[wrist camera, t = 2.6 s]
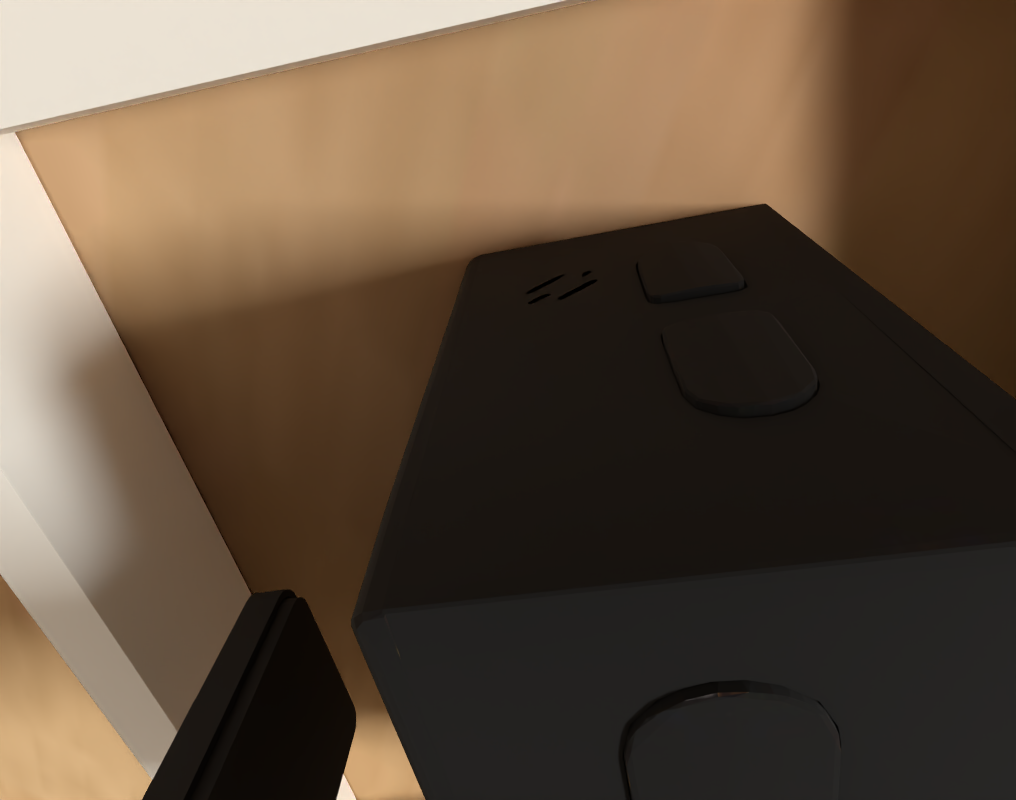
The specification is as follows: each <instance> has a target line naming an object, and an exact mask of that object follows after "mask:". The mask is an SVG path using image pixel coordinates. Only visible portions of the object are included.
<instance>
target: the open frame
mask: <svg viewBox="0 0 1016 800" xmlns="http://www.w3.org/2000/svg"><path fill="white" fill-rule="evenodd" d="M591 1H596V0H0V574H1V576H2V577H3V579H4V580H5V581H6V583H7V584H8V585H9V587H10V588H11V589H12V591H13V592H14V593H15V595H16V596H17V597H18V599H19V600H20V602H21V603H22V604H23V606H24V607H25V608H26V610H27V611H28V612H29V614H30V615H31V616H32V618H33V619H34V620H35V622H36V623H37V625H38V626H39V627H40V629H41V630H42V631H43V633H44V634H45V635H46V637H47V638H48V639H49V641H50V642H51V643H52V645H53V646H54V648H55V649H56V650H57V652H58V653H59V654H60V656H61V657H62V658H63V660H64V661H65V662H66V664H67V665H68V667H69V668H70V669H71V671H72V672H73V673H74V675H75V676H76V677H77V679H78V680H79V681H80V683H81V684H82V685H83V687H84V688H85V690H86V691H87V692H88V694H89V695H90V696H91V698H92V699H93V700H94V702H95V703H96V704H97V706H98V707H99V708H100V710H101V711H102V713H103V714H104V715H105V717H106V718H107V719H108V721H109V722H110V723H111V725H112V726H113V727H114V729H115V730H116V731H117V733H118V734H119V736H120V737H121V738H122V740H123V741H124V742H125V744H126V745H127V746H128V748H129V749H130V750H131V752H132V753H133V754H134V756H135V757H136V759H137V760H138V761H139V763H140V764H141V765H142V767H143V768H144V769H145V771H146V772H147V773H148V775H149V776H150V777H151V779H152V780H153V778H154V776H155V774H156V772H157V770H158V768H159V766H160V764H161V763H162V761H163V759H164V757H165V755H166V753H167V751H168V749H169V747H170V745H171V744H172V742H173V740H174V738H175V736H176V734H177V732H178V730H179V728H180V726H181V725H182V723H183V721H184V719H185V717H186V715H187V713H188V711H189V709H190V707H191V705H192V704H193V702H194V700H195V699H196V697H197V695H198V693H199V691H200V689H201V687H202V686H203V684H204V682H205V680H206V678H207V676H208V674H209V672H210V670H211V668H212V666H213V665H214V663H215V661H216V659H217V657H218V655H219V653H220V651H221V649H222V647H223V646H224V644H225V642H226V640H227V638H228V636H229V634H230V632H231V630H232V628H233V626H234V625H235V623H236V621H237V619H238V617H239V615H240V613H241V611H242V609H243V607H244V605H245V604H246V602H247V600H248V599H249V597H250V596H251V593H250V591H249V589H248V587H247V585H246V583H245V581H244V579H243V577H242V575H241V573H240V571H239V569H238V567H237V565H236V563H235V561H234V559H233V557H232V555H231V554H230V552H229V550H228V548H227V546H226V544H225V542H224V540H223V538H222V536H221V534H220V532H219V530H218V528H217V526H216V524H215V522H214V520H213V518H212V516H211V514H210V513H209V511H208V509H207V507H206V505H205V503H204V501H203V499H202V497H201V495H200V493H199V491H198V489H197V487H196V485H195V483H194V481H193V479H192V477H191V475H190V473H189V471H188V470H187V468H186V466H185V464H184V462H183V460H182V458H181V456H180V454H179V452H178V450H177V448H176V446H175V444H174V442H173V440H172V438H171V436H170V434H169V432H168V430H167V429H166V427H165V425H164V423H163V421H162V419H161V417H160V415H159V413H158V411H157V409H156V407H155V405H154V403H153V401H152V399H151V397H150V395H149V393H148V391H147V389H146V388H145V386H144V384H143V382H142V380H141V378H140V376H139V374H138V372H137V370H136V368H135V366H134V364H133V362H132V360H131V358H130V356H129V354H128V352H127V350H126V348H125V346H124V345H123V343H122V341H121V339H120V337H119V335H118V333H117V331H116V329H115V327H114V325H113V323H112V321H111V319H110V317H109V315H108V313H107V311H106V309H105V307H104V305H103V304H102V302H101V300H100V298H99V296H98V294H97V292H96V290H95V288H94V286H93V284H92V282H91V280H90V278H89V276H88V274H87V272H86V270H85V268H84V266H83V264H82V262H81V261H80V259H79V257H78V255H77V253H76V251H75V249H74V247H73V245H72V243H71V241H70V239H69V237H68V235H67V233H66V231H65V229H64V227H63V225H62V223H61V221H60V220H59V218H58V216H57V214H56V212H55V210H54V208H53V206H52V204H51V202H50V200H49V198H48V196H47V194H46V192H45V190H44V188H43V186H42V184H41V182H40V180H39V179H38V177H37V175H36V173H35V171H34V169H33V167H32V165H31V163H30V161H29V159H28V157H27V155H26V153H25V151H24V149H23V147H22V145H21V143H20V141H19V139H18V137H17V136H16V134H15V132H18V131H22V130H26V129H31V128H35V127H40V126H44V125H49V124H53V123H57V122H62V121H66V120H71V119H75V118H79V117H84V116H88V115H93V114H97V113H101V112H106V111H110V110H115V109H119V108H124V107H128V106H132V105H137V104H141V103H146V102H150V101H154V100H159V99H163V98H168V97H172V96H176V95H181V94H185V93H190V92H194V91H199V90H203V89H207V88H212V87H216V86H221V85H225V84H229V83H234V82H238V81H243V80H247V79H251V78H256V77H260V76H265V75H269V74H274V73H278V72H282V71H287V70H291V69H296V68H300V67H304V66H309V65H313V64H318V63H322V62H326V61H331V60H335V59H340V58H344V57H349V56H353V55H357V54H362V53H366V52H371V51H375V50H379V49H384V48H388V47H393V46H397V45H401V44H406V43H410V42H415V41H419V40H424V39H428V38H432V37H437V36H441V35H446V34H450V33H454V32H459V31H463V30H468V29H472V28H476V27H481V26H485V25H490V24H494V23H499V22H503V21H507V20H512V19H516V18H521V17H525V16H529V15H534V14H538V13H543V12H547V11H551V10H556V9H560V8H565V7H569V6H574V5H578V4H582V3H587V2H591ZM336 800H356V798H355V796H354V794H353V792H352V790H351V788H350V786H349V784H348V782H347V780H346V778H345V776H344V774H343V777H342V781H341V784H340V788H339V792H338V795H337V799H336Z"/></svg>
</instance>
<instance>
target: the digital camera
mask: <svg viewBox="0 0 1016 800" xmlns="http://www.w3.org/2000/svg"><path fill="white" fill-rule="evenodd" d="M546 281H548V284H547V286H542V287H537V288H534V287H536V286H538V285H540V284H542V283H544V282H546ZM588 284H592V285H590V286H588V287H586V288H584V289H582V290H580V291H579V292H573V293H567V292H569V291H571V290H573V289H575V288H577V287H579V286H582V285H588ZM566 293H567V294H566ZM548 294H551V295H549V296H548V297H544V298H538V299H535V298H537V297H540V296H546V295H548ZM533 299H535V300H534V301H533V304H528V302H530V301H532V300H533ZM351 627H352V629H353V631H354V634H355V636H356V639H357V641H358V644H359V646H360V649H361V651H362V653H363V656H364V658H365V660H366V663H367V665H368V667H369V669H370V672H371V674H372V676H373V679H374V681H375V683H376V686H377V688H378V690H379V693H380V695H381V697H382V700H383V702H384V704H385V707H386V709H387V711H388V714H389V716H390V718H391V720H392V723H393V725H394V727H395V730H396V732H397V734H398V737H399V739H400V741H401V744H402V746H403V748H404V751H405V753H406V755H407V758H408V760H409V762H410V765H411V767H412V769H413V772H414V774H415V776H416V778H417V781H418V783H419V785H420V788H421V790H422V792H423V795H424V797H425V799H426V800H1016V399H1014V398H1013V397H1012V396H1011V395H1009V394H1008V393H1007V392H1005V391H1004V390H1003V389H1002V388H1000V387H999V386H998V385H997V384H995V383H994V382H993V381H991V380H990V379H989V378H988V377H986V376H985V375H984V374H982V373H981V372H980V371H979V370H977V369H976V368H975V367H974V366H972V365H971V364H970V363H968V362H967V361H966V360H965V359H963V358H962V357H961V356H960V355H958V354H957V353H956V352H954V351H953V350H952V349H951V348H949V347H948V346H947V345H945V344H944V343H943V342H942V341H940V340H939V339H938V338H937V337H935V336H934V335H933V334H931V333H930V332H929V331H928V330H926V329H925V328H924V327H923V326H921V325H920V324H919V323H917V322H916V321H915V320H914V319H912V318H911V317H910V316H908V315H907V314H906V313H905V312H903V311H902V310H901V309H900V308H898V307H897V306H896V305H894V304H893V303H892V302H891V301H889V300H888V299H887V298H886V297H884V296H883V295H882V294H880V293H879V292H878V291H877V290H875V289H874V288H873V287H871V286H870V285H869V284H868V283H866V282H865V281H864V280H863V279H861V278H860V277H859V276H857V275H856V274H855V273H854V272H852V271H851V270H850V269H849V268H847V267H846V266H845V265H843V264H842V263H841V262H840V261H838V260H837V259H836V258H834V257H833V256H832V255H831V254H829V253H828V252H827V251H826V250H824V249H823V248H822V247H820V246H819V245H818V244H817V243H815V242H814V241H813V240H812V239H810V238H809V237H808V236H806V235H805V234H804V233H803V232H801V231H800V230H799V229H797V228H796V227H795V226H794V225H792V224H791V223H790V222H789V221H787V220H786V219H785V218H783V217H782V216H781V215H780V214H778V213H777V212H776V211H775V210H773V209H772V208H771V207H769V206H768V205H767V204H762V205H756V206H749V207H744V208H739V209H733V210H728V211H722V212H717V213H711V214H706V215H700V216H695V217H689V218H684V219H678V220H673V221H667V222H662V223H656V224H651V225H645V226H639V227H634V228H628V229H623V230H617V231H612V232H606V233H601V234H595V235H590V236H584V237H579V238H573V239H568V240H562V241H557V242H551V243H546V244H540V245H535V246H529V247H524V248H518V249H513V250H507V251H502V252H496V253H491V254H485V255H481V256H478V257H476V258H474V259H472V260H471V261H470V262H469V264H468V266H467V268H466V271H465V274H464V277H463V280H462V283H461V286H460V289H459V292H458V295H457V298H456V301H455V304H454V307H453V310H452V313H451V316H450V319H449V322H448V325H447V328H446V331H445V334H444V337H443V340H442V343H441V346H440V349H439V352H438V354H437V357H436V360H435V363H434V366H433V369H432V372H431V375H430V378H429V381H428V384H427V387H426V390H425V393H424V396H423V399H422V402H421V405H420V408H419V411H418V414H417V417H416V420H415V423H414V426H413V429H412V432H411V435H410V438H409V441H408V444H407V446H406V449H405V452H404V455H403V458H402V461H401V464H400V467H399V470H398V473H397V476H396V479H395V482H394V485H393V488H392V491H391V494H390V497H389V500H388V503H387V506H386V509H385V512H384V515H383V519H382V522H381V525H380V528H379V532H378V535H377V538H376V541H375V545H374V548H373V551H372V554H371V557H370V561H369V564H368V567H367V570H366V574H365V577H364V580H363V583H362V586H361V590H360V593H359V596H358V599H357V603H356V606H355V609H354V612H353V615H352V619H351Z"/></svg>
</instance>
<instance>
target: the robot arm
mask: <svg viewBox="0 0 1016 800" xmlns="http://www.w3.org/2000/svg"><path fill="white" fill-rule="evenodd" d="M355 728H356V712H355V707H354V705H353V702H352V700H351V698H350V696H349V694H348V691H347V689H346V687H345V685H344V683H343V680H342V678H341V676H340V674H339V672H338V669H337V667H336V665H335V663H334V661H333V658H332V656H331V654H330V652H329V650H328V648H327V645H326V643H325V641H324V639H323V637H322V634H321V632H320V630H319V628H318V626H317V623H316V621H315V619H314V617H313V615H312V612H311V610H310V608H309V606H308V604H307V602H306V600H305V599H304V598H302V597H299V598H297V597H296V595H295V593H294V592H293V591H291V590H278V591H269V592H261V593H254V594H253V595H251V596H250V597H249V599H248V600H247V602H246V604H245V605H244V607H243V609H242V611H241V613H240V615H239V617H238V619H237V621H236V623H235V625H234V626H233V628H232V630H231V632H230V634H229V636H228V638H227V640H226V642H225V644H224V646H223V647H222V649H221V651H220V653H219V655H218V657H217V659H216V661H215V663H214V665H213V666H212V668H211V670H210V672H209V674H208V676H207V678H206V680H205V682H204V684H203V686H202V687H201V689H200V691H199V693H198V695H197V697H196V699H195V700H194V702H193V704H192V705H191V707H190V709H189V711H188V713H187V715H186V717H185V719H184V721H183V723H182V725H181V726H180V728H179V730H178V732H177V734H176V736H175V738H174V740H173V742H172V744H171V745H170V747H169V749H168V751H167V753H166V755H165V757H164V759H163V761H162V763H161V764H160V766H159V768H158V770H157V772H156V774H155V776H154V778H153V780H152V782H151V784H150V785H149V787H148V789H147V791H146V793H145V795H144V797H143V799H142V800H336V799H337V795H338V792H339V788H340V784H341V781H342V777H343V773H344V770H345V766H346V762H347V759H348V755H349V751H350V748H351V744H352V740H353V737H354V733H355Z"/></svg>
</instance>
